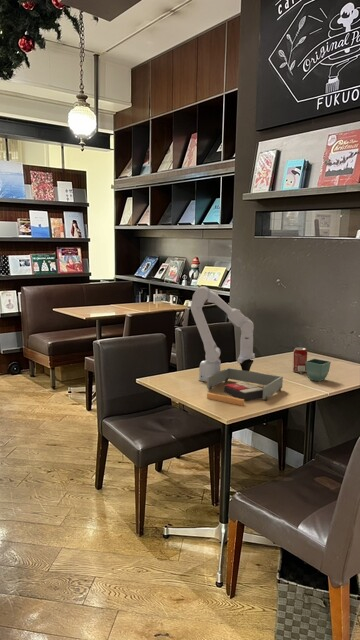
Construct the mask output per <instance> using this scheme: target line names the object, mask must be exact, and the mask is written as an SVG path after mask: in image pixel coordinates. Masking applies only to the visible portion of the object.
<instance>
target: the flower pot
mask: <svg viewBox="0 0 360 640" xmlns="http://www.w3.org/2000/svg"><path fill="white" fill-rule="evenodd" d="M330 367H331V361H330V360H323V359H318V358H311V359H309V360H307V361H306V372H305V373H306V375H307V377H308V378H309V380H311V381H315V382H323V380H325V379H326V378H327V376H328V375H329V372H330Z"/></svg>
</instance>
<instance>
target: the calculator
mask: <svg viewBox="0 0 360 640" xmlns="http://www.w3.org/2000/svg"><path fill="white" fill-rule="evenodd" d="M223 392H224V393H225V394H228V395H230V396H231V397H234V398H239V399H244V402H249V401H256V400H261V399H263V387H259V386H257V385H255V384H253V383H250V382H244V381H239V382H235V383H229V384H225V385H224V386H223Z"/></svg>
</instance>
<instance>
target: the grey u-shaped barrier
mask: <svg viewBox="0 0 360 640" xmlns="http://www.w3.org/2000/svg"><path fill="white" fill-rule="evenodd" d="M283 377H284V376H282V375H276V374H268V373H263V372H258V371H257V372H256V371H245V370H242V369H237V368H232V367H227V368H225V369H223V370H220V372H218V373H215V374H213V375H211V376H209V377H207V382H206V389H208V390H212V389H213V387H214V386H217V385H219V384H221V383H223V382H225V383H226V382H227V383H228V381H229V380H232V381H238V382H246V383H249V384H254V385H255V384H258V385H263V387H262V388H263V398H262V400H263V401H267V400H268V398H269V397H270V396H272V395H273V394H275V393H276V392H281V391H282V388H283V384H284V381H283Z"/></svg>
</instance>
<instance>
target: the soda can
mask: <svg viewBox="0 0 360 640" xmlns="http://www.w3.org/2000/svg"><path fill="white" fill-rule="evenodd" d="M292 356H293V357H292V371H293V372H294V373H297V374H303V373H307V372H306V361H308V351H307V348H306V347H301V346H299V347H298V346H297V347H295V348H294V350H293V355H292Z"/></svg>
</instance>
